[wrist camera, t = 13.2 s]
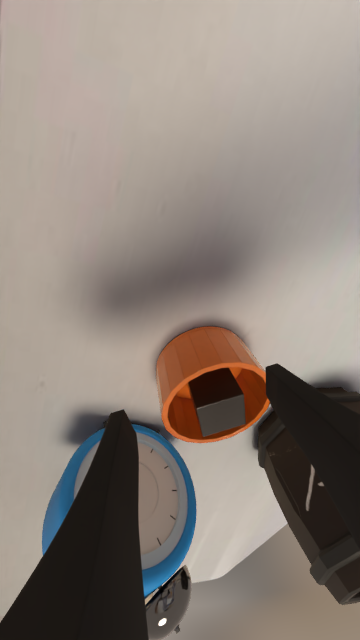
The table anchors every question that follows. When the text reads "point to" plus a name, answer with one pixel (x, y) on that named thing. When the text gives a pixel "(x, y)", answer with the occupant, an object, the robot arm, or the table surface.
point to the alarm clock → (145, 522)
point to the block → (217, 401)
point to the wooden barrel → (312, 505)
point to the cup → (192, 361)
